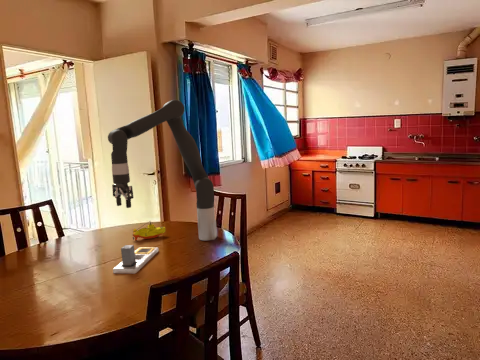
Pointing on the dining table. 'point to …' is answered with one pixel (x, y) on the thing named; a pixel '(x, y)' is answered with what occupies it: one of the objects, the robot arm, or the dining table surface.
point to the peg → (128, 256)
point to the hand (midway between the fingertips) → (123, 206)
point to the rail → (140, 253)
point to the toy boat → (148, 232)
